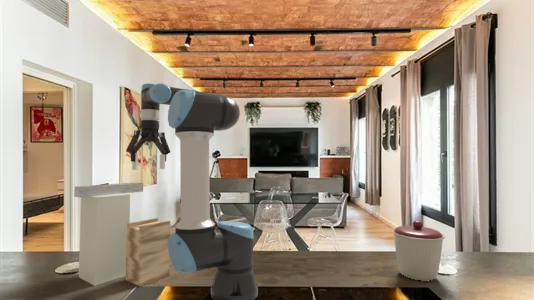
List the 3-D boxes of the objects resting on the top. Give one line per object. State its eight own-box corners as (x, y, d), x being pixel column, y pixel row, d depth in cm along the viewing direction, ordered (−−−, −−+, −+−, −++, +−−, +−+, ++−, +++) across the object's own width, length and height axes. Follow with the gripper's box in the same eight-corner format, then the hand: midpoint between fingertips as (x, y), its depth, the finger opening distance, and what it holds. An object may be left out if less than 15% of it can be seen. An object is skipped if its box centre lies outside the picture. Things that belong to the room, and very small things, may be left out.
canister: (452, 288, 107) (452, 227, 107) (397, 283, 110) (397, 224, 111) (435, 269, 124) (435, 217, 125) (387, 266, 128) (388, 215, 128)
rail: (143, 191, 124) (143, 182, 124) (78, 197, 105) (79, 187, 105) (138, 190, 126) (138, 182, 126) (74, 196, 107) (74, 186, 107)
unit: (128, 275, 114) (130, 194, 115) (94, 285, 105) (97, 197, 105) (110, 267, 122) (112, 191, 122) (78, 276, 112) (80, 194, 113)
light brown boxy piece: (169, 275, 114) (170, 221, 115) (140, 286, 105) (141, 226, 105) (155, 270, 120) (156, 218, 120) (125, 279, 110) (127, 223, 110)
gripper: (168, 123, 146) (167, 168, 145) (117, 117, 125) (116, 169, 124) (178, 122, 141) (177, 168, 141) (128, 116, 121) (127, 170, 120)
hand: (149, 169), depth 133 cm, fingers open, 13 cm apart
